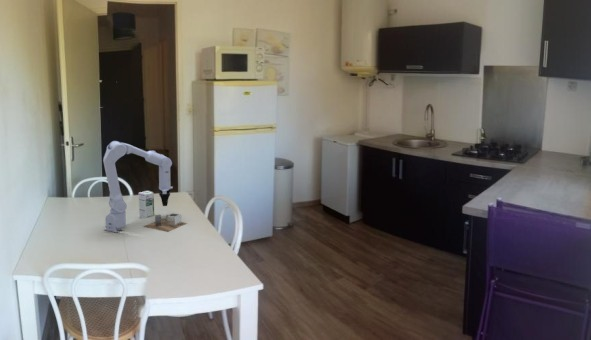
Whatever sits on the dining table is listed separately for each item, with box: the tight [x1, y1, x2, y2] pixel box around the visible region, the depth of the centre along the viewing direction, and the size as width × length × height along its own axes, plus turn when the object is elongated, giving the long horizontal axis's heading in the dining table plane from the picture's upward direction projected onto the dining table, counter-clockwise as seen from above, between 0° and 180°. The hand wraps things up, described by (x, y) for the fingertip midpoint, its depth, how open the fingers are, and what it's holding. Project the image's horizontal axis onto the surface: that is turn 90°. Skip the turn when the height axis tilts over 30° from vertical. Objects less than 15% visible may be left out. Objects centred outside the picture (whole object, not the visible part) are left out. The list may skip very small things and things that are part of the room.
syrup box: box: [138, 190, 155, 220], centre depth 262 cm, size 6×6×14 cm
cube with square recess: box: [165, 212, 182, 227], centre depth 249 cm, size 6×6×5 cm
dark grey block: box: [154, 214, 162, 226], centre depth 247 cm, size 3×3×5 cm
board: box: [142, 218, 188, 233], centre depth 248 cm, size 16×16×2 cm
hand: (165, 203), depth 257 cm, fingers open, 7 cm apart
